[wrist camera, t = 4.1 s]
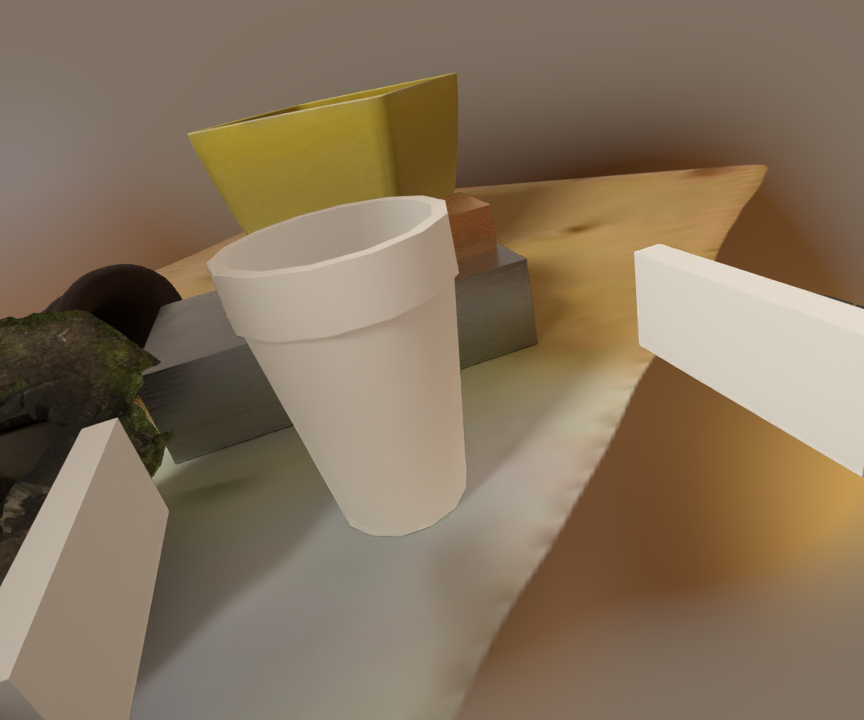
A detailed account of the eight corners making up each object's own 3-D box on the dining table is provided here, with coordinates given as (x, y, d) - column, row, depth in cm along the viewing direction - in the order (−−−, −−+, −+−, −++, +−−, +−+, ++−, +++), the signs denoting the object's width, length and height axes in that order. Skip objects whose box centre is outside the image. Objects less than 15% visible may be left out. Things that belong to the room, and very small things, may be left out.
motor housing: (175, 464, 34) (106, 330, 30) (192, 374, 46) (144, 268, 41) (537, 343, 38) (520, 211, 34) (470, 288, 50) (451, 184, 46)
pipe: (-126, 353, 42) (-31, 315, 35) (59, 285, 54) (158, 246, 47) (-46, 463, 45) (57, 448, 38) (112, 375, 57) (213, 351, 50)
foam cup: (453, 585, 22) (369, 273, 16) (271, 544, 26) (152, 283, 20) (522, 439, 29) (481, 186, 24) (371, 424, 34) (304, 206, 28)
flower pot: (486, 234, 64) (459, 68, 56) (428, 306, 48) (381, 91, 41) (339, 248, 71) (298, 104, 63) (249, 315, 56) (180, 135, 48)
